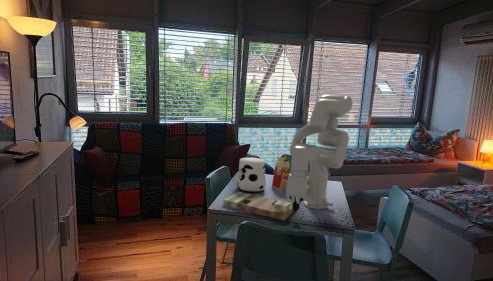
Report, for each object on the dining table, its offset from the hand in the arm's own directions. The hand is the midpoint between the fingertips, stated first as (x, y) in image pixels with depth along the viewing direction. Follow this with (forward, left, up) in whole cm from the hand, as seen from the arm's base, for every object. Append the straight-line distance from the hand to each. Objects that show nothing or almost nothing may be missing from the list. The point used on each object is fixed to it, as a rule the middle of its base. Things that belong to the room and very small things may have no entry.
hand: (295, 210), depth 157 cm
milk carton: (+24, -44, -5) cm, 50 cm away
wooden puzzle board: (+20, -4, -4) cm, 21 cm away
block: (+7, 0, -2) cm, 7 cm away
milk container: (+37, -28, -5) cm, 47 cm away
